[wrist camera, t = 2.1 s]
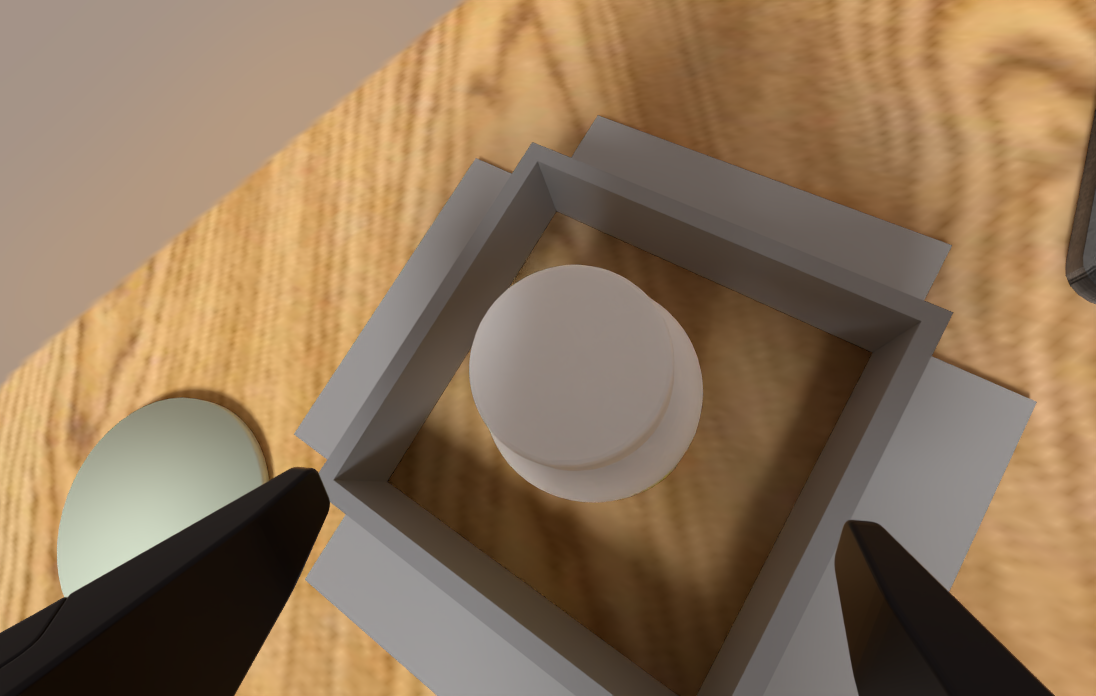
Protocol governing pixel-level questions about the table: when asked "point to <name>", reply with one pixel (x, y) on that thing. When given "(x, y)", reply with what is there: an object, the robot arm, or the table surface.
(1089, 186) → the phone
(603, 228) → the carton
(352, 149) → the table surface
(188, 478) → the felt pad
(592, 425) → the supplement bottle
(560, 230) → the table surface
